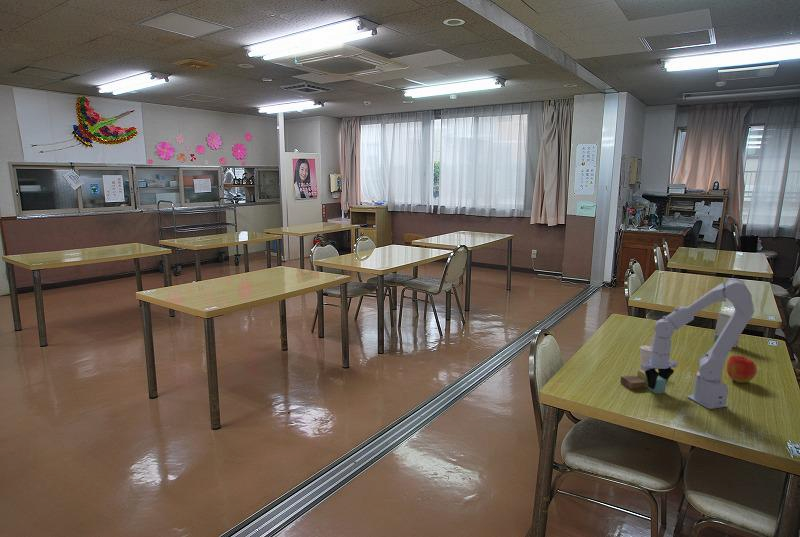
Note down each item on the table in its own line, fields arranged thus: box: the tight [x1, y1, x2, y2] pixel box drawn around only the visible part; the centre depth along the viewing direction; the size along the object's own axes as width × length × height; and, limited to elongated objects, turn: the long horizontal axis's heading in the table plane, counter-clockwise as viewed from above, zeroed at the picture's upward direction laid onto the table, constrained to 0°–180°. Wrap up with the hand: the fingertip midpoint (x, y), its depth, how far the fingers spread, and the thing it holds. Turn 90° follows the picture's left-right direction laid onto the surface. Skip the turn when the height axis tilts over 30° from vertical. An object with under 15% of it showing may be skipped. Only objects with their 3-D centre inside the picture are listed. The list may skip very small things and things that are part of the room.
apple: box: [726, 355, 758, 384], centre depth 181 cm, size 10×10×10 cm
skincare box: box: [712, 310, 741, 348], centre depth 220 cm, size 8×7×16 cm
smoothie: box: [639, 337, 653, 365], centre depth 189 cm, size 6×6×14 cm
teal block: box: [646, 375, 667, 394], centre depth 172 cm, size 4×4×5 cm
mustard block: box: [636, 369, 648, 387], centre depth 178 cm, size 4×4×5 cm
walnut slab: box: [619, 374, 646, 391], centre depth 176 cm, size 6×6×3 cm
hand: (656, 386), depth 172 cm, fingers closed on teal block, 4 cm apart
